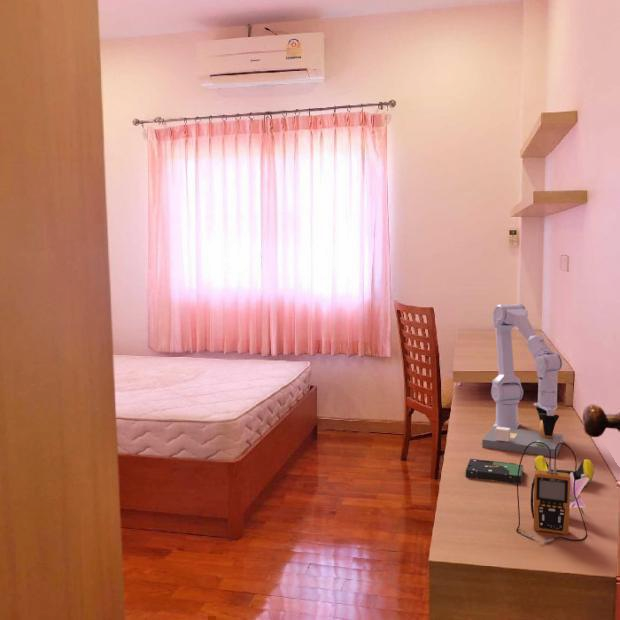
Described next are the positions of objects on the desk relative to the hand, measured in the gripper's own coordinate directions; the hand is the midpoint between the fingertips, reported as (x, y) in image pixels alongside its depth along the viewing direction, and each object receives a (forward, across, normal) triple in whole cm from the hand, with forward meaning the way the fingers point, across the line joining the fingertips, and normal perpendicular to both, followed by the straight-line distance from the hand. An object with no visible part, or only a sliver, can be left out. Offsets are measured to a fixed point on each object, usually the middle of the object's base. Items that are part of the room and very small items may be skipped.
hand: (546, 432), depth 198 cm
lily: (+4, +57, -4) cm, 57 cm away
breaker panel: (+4, +2, -7) cm, 9 cm away
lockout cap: (+1, 0, 0) cm, 1 cm away
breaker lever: (+1, +8, -14) cm, 16 cm away
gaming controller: (+4, +34, 0) cm, 34 cm away
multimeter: (+4, +70, -9) cm, 71 cm away
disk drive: (+5, +32, -18) cm, 37 cm away
